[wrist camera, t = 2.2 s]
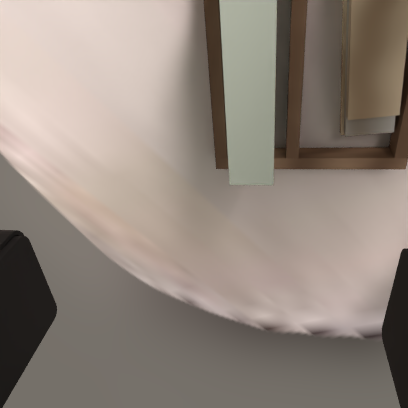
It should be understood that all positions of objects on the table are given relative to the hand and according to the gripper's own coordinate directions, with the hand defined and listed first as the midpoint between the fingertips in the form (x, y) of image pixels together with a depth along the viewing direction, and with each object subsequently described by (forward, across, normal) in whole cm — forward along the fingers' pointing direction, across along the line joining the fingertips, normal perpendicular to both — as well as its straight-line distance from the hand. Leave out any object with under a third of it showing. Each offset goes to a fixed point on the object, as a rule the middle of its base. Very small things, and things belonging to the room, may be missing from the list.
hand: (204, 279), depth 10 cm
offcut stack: (+25, -9, 0) cm, 27 cm away
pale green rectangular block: (+25, 0, 0) cm, 25 cm away
